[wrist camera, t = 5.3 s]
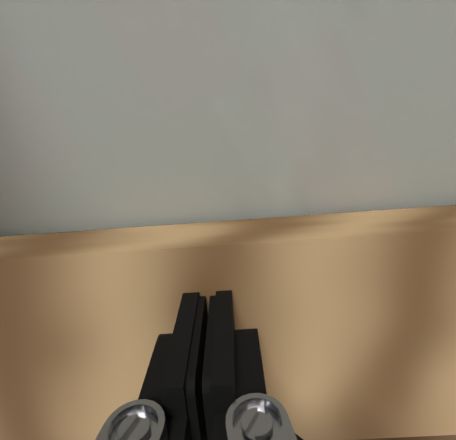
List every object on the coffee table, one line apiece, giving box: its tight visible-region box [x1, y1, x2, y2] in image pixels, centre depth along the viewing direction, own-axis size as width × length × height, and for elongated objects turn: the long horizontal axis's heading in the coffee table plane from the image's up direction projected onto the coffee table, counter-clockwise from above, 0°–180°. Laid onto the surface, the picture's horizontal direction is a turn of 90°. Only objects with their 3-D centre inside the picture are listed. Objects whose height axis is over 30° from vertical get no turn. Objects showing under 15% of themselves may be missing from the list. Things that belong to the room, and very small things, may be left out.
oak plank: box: [0, 205, 456, 440], centre depth 12 cm, size 20×9×2 cm, turn 94°
